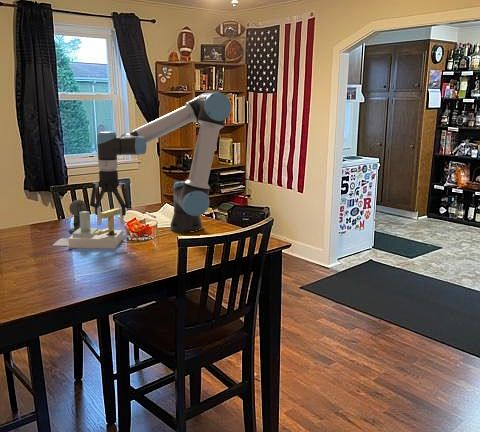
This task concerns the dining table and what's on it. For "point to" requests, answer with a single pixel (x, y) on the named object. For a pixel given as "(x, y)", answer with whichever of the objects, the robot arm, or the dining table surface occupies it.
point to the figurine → (76, 213)
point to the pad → (62, 242)
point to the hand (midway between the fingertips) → (110, 222)
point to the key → (109, 220)
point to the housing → (97, 240)
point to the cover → (85, 226)
